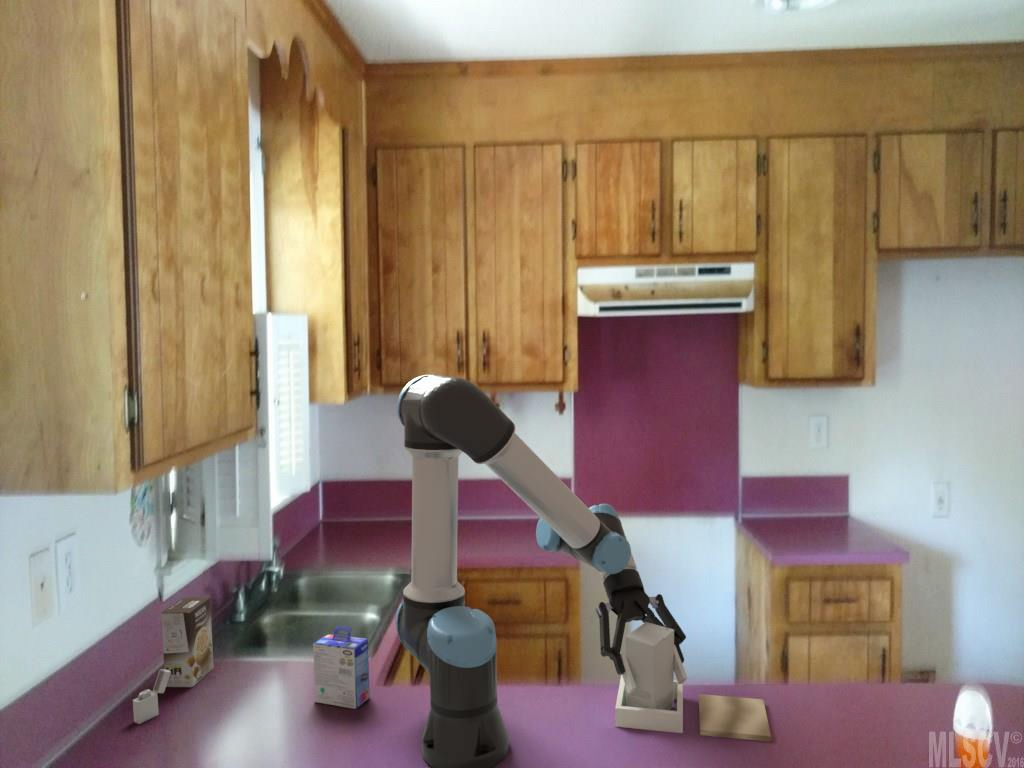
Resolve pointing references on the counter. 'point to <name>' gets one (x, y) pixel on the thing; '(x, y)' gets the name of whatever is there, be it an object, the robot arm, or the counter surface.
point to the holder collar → (649, 713)
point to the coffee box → (187, 641)
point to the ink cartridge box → (341, 669)
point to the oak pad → (733, 717)
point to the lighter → (150, 699)
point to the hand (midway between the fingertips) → (657, 686)
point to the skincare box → (651, 667)
